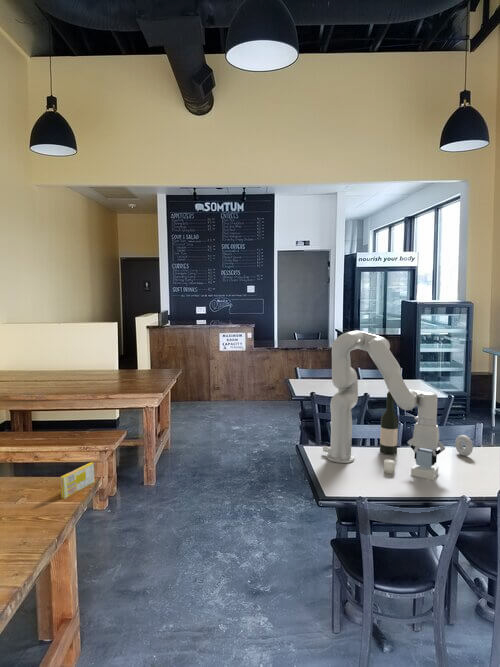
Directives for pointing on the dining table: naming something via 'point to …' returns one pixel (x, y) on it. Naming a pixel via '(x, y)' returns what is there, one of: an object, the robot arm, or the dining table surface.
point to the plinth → (424, 471)
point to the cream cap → (389, 466)
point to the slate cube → (424, 457)
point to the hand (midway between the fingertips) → (425, 462)
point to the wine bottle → (389, 429)
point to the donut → (467, 443)
